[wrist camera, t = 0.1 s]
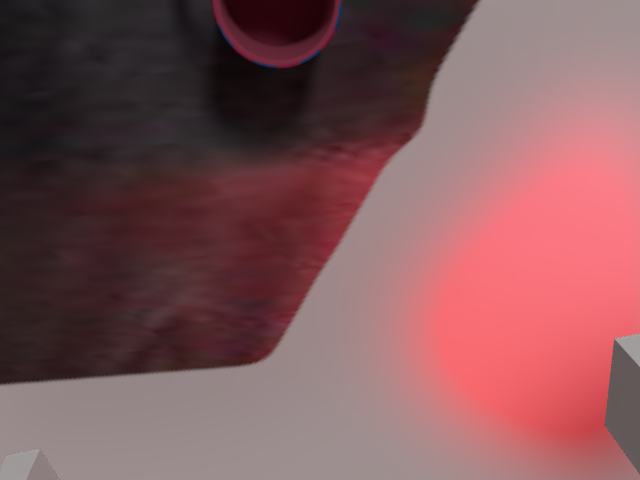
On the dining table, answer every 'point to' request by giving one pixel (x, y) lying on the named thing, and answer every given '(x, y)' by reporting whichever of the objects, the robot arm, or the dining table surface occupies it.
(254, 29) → the mug
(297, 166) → the dining table surface
